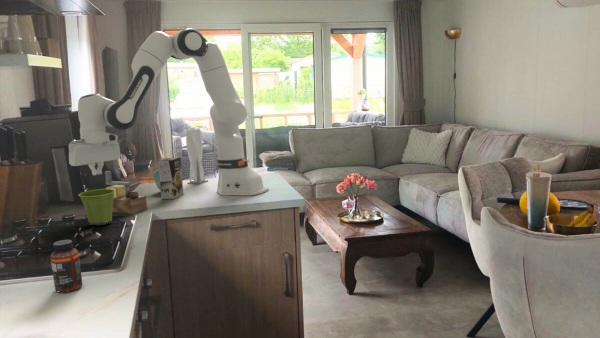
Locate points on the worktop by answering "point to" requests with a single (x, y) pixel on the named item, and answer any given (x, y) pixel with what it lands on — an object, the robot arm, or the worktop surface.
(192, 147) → the skyscraper
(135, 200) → the plane body
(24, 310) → the worktop surface
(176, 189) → the coffee box
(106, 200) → the plant pot
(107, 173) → the cam lever
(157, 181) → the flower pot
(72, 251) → the supplement bottle
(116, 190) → the pale yellow block
